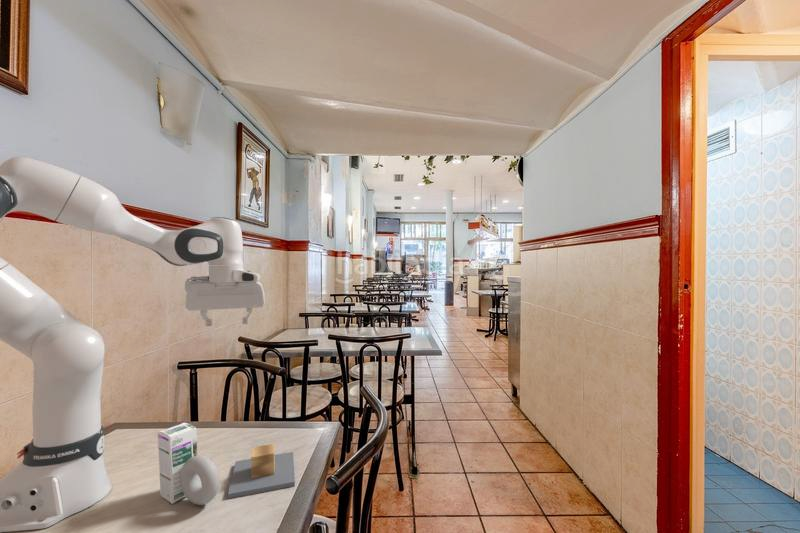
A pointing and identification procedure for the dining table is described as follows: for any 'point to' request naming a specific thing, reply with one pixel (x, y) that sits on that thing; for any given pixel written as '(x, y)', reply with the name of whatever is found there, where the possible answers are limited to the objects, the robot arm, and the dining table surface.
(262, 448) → the oak cube
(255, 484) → the slate mat
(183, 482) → the donut
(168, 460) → the syrup box
